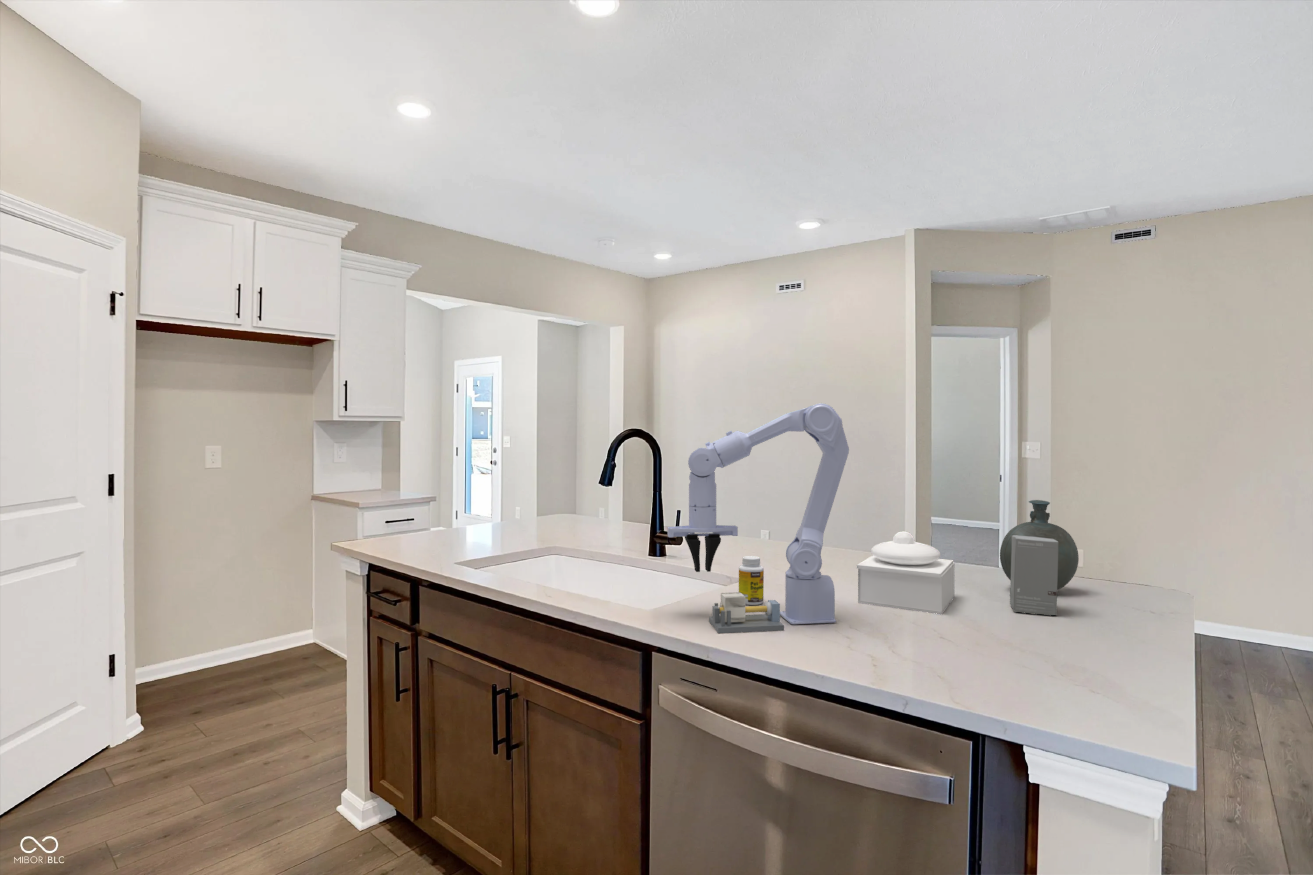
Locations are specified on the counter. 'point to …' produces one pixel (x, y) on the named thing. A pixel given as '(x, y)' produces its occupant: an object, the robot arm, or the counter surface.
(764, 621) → the linear actuator
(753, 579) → the supplement bottle
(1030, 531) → the flask
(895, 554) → the white lidded box
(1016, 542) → the skincare box
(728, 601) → the sleeve
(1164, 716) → the counter surface
